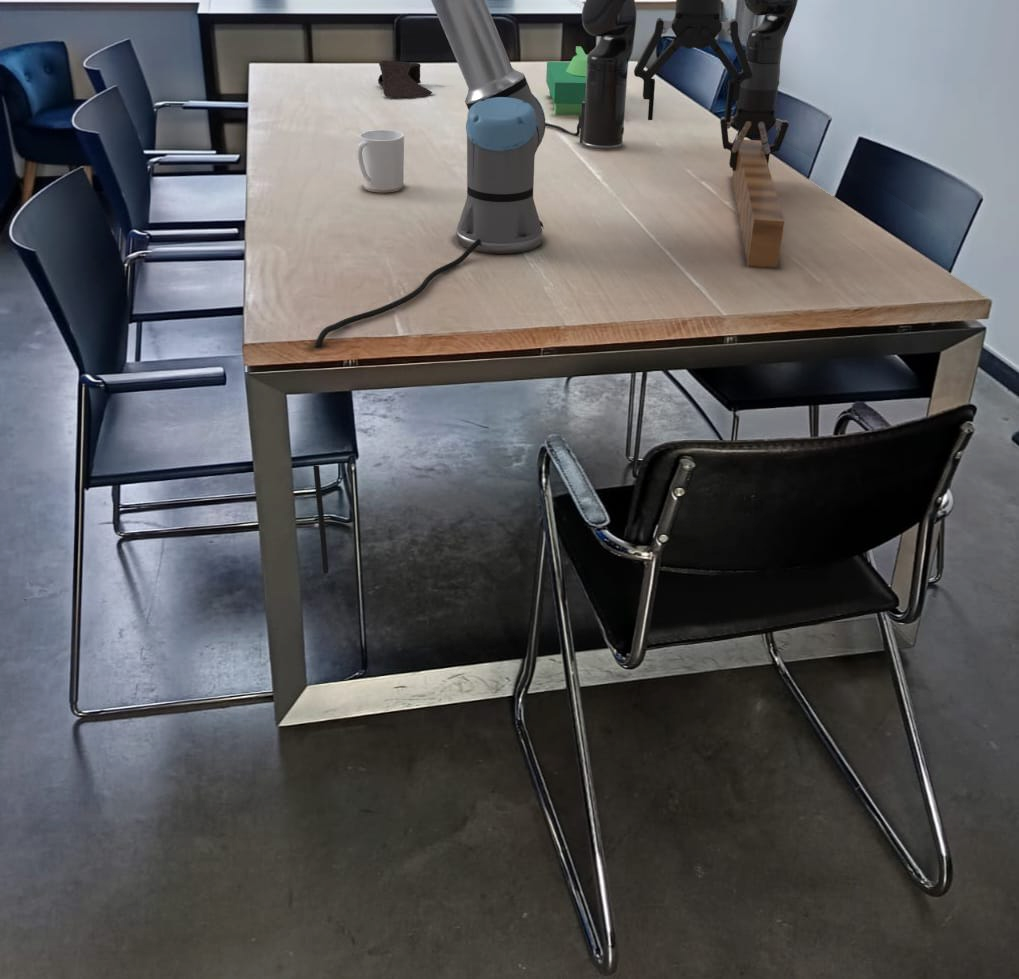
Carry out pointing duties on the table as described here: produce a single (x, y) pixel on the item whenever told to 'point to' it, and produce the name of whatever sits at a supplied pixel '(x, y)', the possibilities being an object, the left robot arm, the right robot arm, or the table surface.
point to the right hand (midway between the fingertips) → (747, 170)
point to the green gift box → (568, 83)
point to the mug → (381, 160)
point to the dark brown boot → (401, 79)
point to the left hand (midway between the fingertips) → (688, 119)
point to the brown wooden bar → (757, 206)
